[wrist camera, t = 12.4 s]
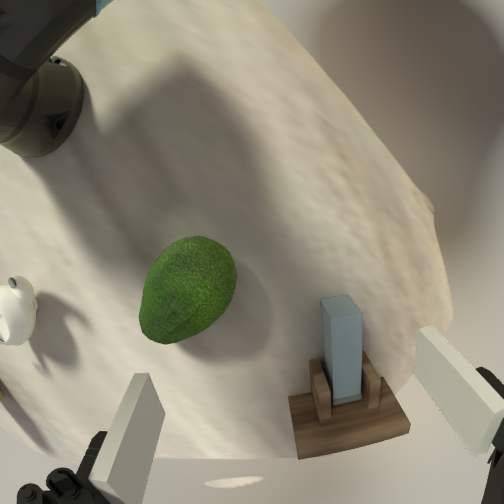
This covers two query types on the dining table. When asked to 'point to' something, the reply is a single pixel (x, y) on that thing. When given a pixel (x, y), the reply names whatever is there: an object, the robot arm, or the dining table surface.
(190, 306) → the fruit
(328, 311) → the block
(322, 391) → the wooden card holder
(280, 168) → the dining table surface
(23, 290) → the teapot
